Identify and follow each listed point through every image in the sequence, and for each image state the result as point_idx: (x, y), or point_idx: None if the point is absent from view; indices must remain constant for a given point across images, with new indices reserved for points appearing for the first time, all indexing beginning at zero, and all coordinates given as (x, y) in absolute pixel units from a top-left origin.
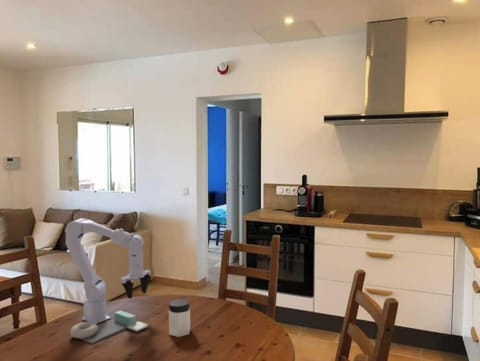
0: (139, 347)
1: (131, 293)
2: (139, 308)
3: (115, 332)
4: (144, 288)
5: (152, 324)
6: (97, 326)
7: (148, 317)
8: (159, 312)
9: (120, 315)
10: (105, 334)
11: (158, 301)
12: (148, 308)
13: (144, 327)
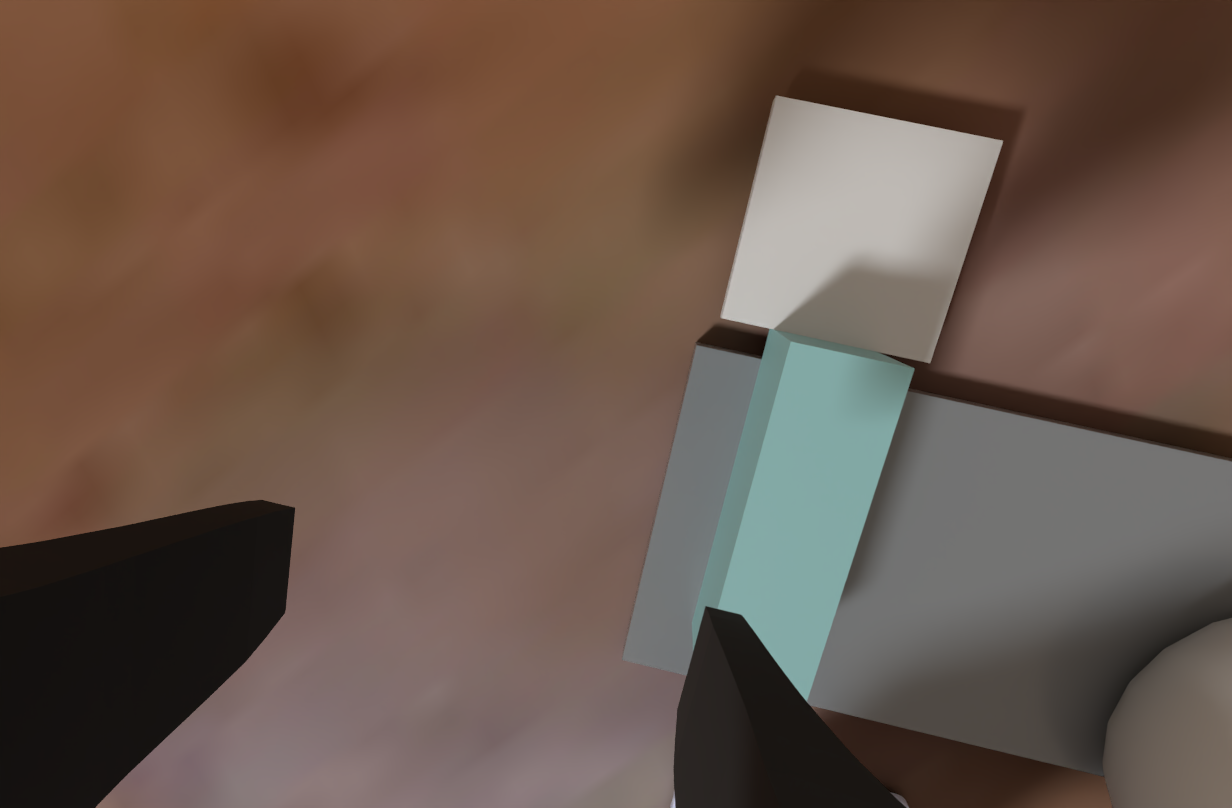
0: None
1: (765, 675)
2: (309, 612)
3: (1072, 425)
4: (197, 582)
5: (644, 139)
6: (1210, 672)
7: (478, 339)
8: (284, 301)
9: (840, 584)
10: (1193, 493)
11: (27, 527)
12: None
13: (856, 114)
